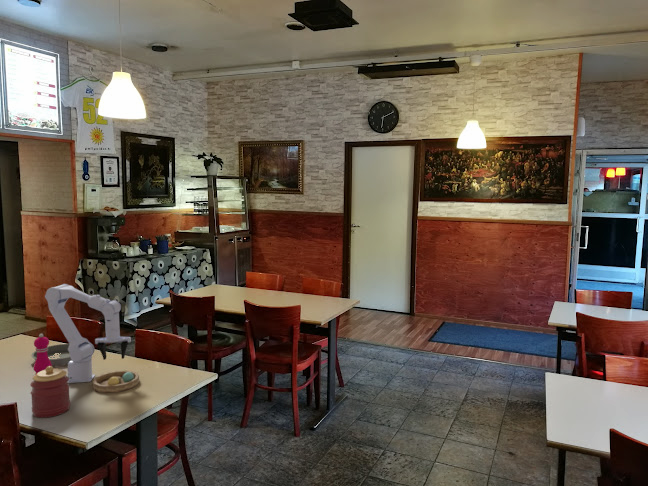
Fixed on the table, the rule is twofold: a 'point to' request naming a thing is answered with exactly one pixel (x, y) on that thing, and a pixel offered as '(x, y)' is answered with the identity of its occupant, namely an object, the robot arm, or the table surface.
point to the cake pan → (59, 349)
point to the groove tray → (102, 385)
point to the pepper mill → (41, 354)
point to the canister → (50, 392)
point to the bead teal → (128, 377)
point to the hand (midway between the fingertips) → (114, 358)
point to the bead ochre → (113, 381)
